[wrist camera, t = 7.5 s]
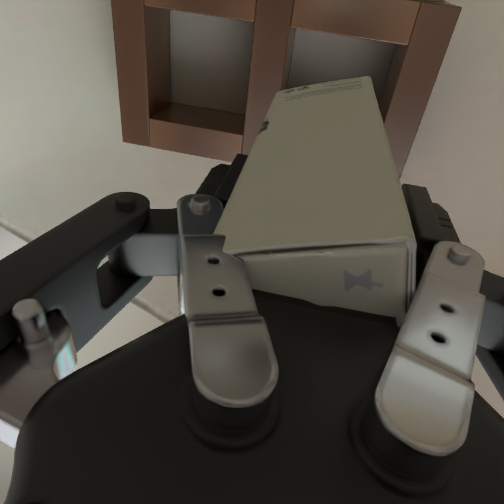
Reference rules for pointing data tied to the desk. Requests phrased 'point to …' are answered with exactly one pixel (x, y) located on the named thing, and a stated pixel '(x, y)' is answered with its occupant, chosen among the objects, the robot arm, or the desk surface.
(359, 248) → the box
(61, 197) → the desk surface
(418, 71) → the rack
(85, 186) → the desk surface
